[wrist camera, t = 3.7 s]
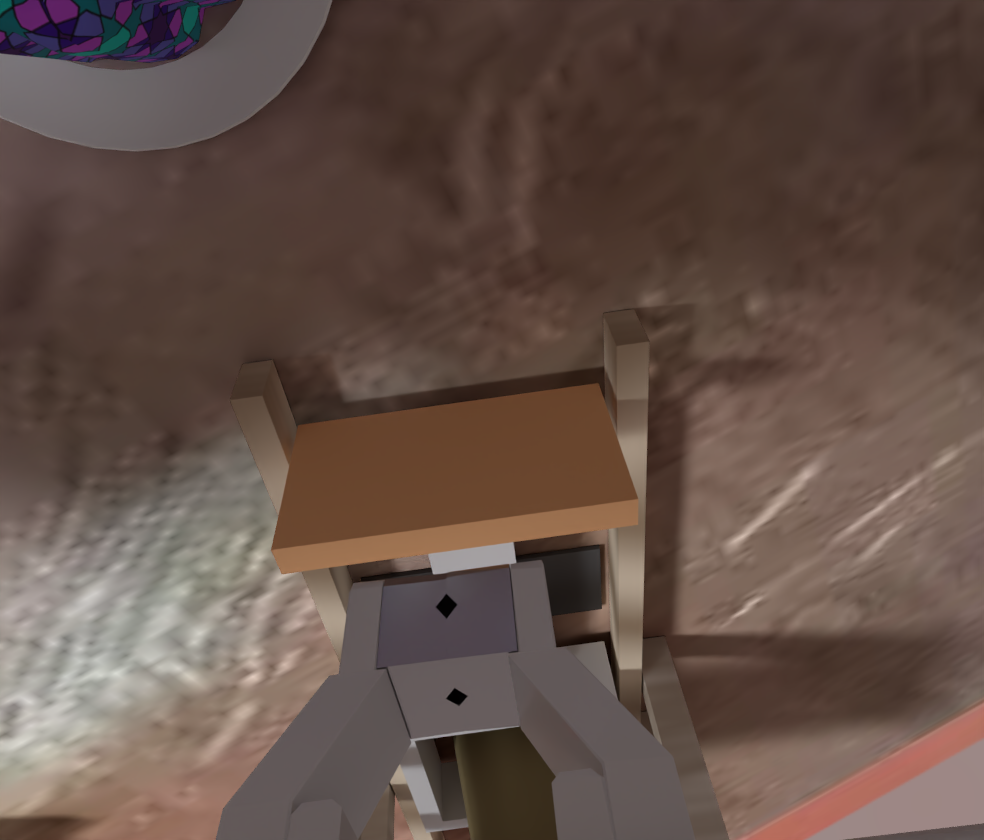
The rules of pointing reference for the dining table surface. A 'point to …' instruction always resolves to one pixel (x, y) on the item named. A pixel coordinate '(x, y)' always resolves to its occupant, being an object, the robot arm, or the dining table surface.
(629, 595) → the tunnel track
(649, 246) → the dining table surface
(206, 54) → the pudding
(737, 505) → the dining table surface
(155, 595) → the dining table surface
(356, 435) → the sled fence
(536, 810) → the olive rounded cylinder
